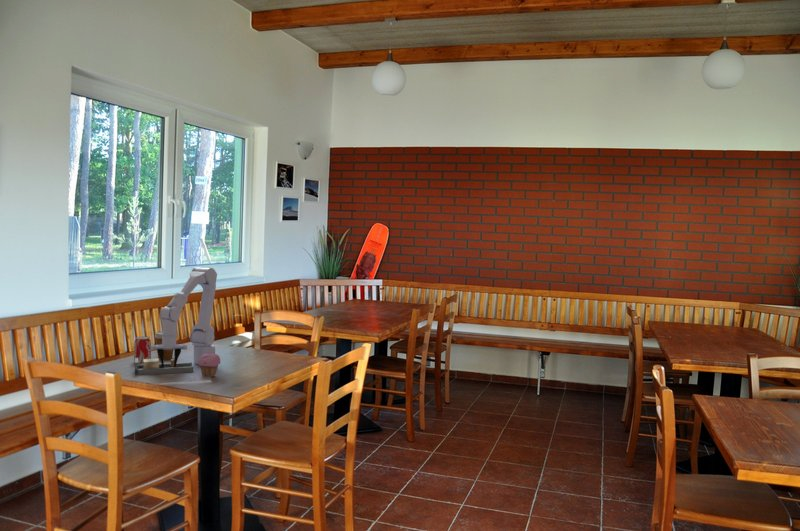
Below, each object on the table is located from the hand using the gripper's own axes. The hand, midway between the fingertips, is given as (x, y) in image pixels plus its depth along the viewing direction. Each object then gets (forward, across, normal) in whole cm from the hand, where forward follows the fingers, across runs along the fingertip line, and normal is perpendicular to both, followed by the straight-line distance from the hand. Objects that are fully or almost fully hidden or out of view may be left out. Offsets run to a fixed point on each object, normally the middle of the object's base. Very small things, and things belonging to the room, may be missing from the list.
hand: (168, 366), depth 281 cm
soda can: (+3, -10, +20) cm, 23 cm away
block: (+1, -4, 0) cm, 4 cm away
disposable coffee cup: (+3, 0, +31) cm, 31 cm away
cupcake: (+3, +16, -11) cm, 19 cm away
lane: (+3, -2, 0) cm, 3 cm away
